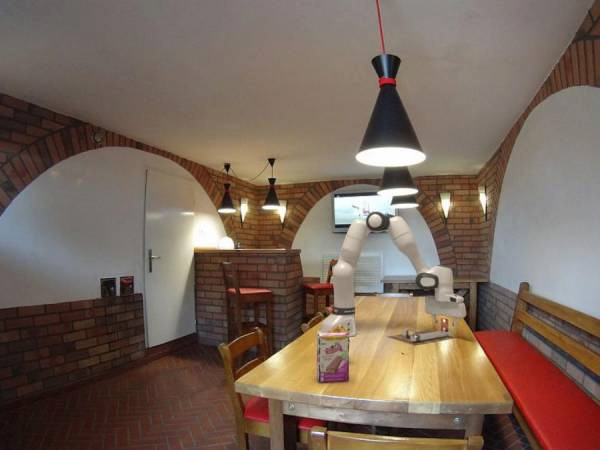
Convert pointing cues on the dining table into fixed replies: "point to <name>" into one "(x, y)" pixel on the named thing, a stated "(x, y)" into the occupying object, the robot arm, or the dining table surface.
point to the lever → (441, 333)
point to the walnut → (411, 333)
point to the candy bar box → (332, 357)
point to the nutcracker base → (404, 338)
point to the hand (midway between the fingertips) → (445, 324)
